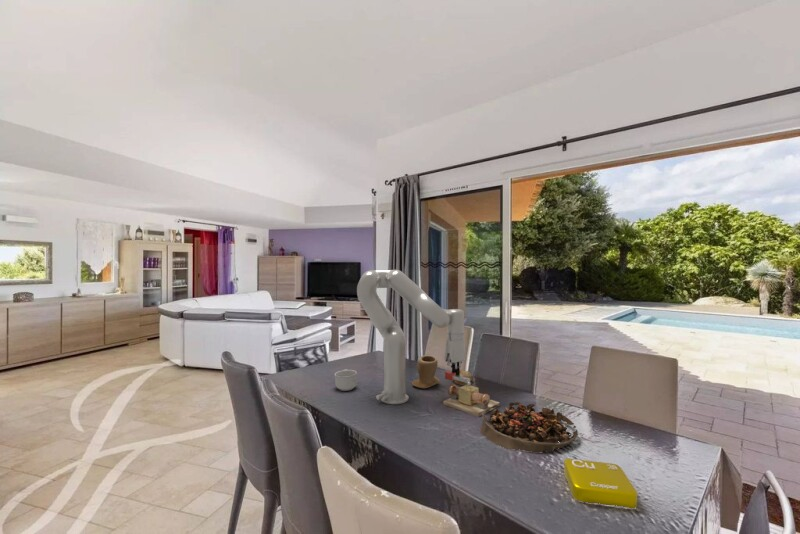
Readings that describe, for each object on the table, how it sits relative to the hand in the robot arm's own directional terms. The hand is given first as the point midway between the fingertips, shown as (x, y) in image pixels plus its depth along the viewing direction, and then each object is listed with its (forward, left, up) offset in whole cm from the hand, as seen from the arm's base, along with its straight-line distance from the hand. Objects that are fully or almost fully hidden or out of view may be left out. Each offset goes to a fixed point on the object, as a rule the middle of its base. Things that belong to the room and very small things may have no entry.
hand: (455, 376), depth 169 cm
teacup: (-27, +46, -10) cm, 54 cm away
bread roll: (+21, +11, -10) cm, 26 cm away
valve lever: (-4, -4, -1) cm, 6 cm away
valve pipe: (-4, -10, -8) cm, 13 cm away
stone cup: (+4, +20, -10) cm, 23 cm away
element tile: (-28, -68, -10) cm, 74 cm away
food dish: (-8, -38, -10) cm, 40 cm away
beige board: (-2, -10, -10) cm, 14 cm away
